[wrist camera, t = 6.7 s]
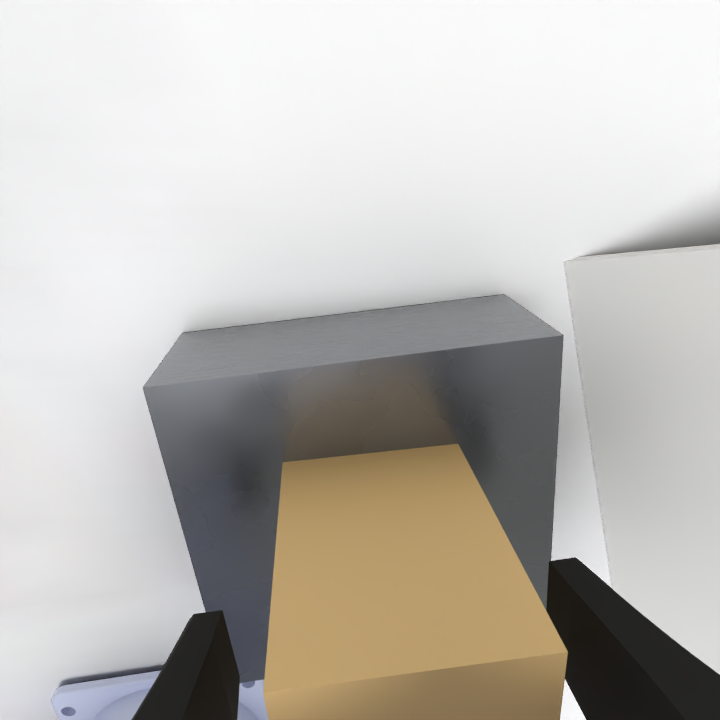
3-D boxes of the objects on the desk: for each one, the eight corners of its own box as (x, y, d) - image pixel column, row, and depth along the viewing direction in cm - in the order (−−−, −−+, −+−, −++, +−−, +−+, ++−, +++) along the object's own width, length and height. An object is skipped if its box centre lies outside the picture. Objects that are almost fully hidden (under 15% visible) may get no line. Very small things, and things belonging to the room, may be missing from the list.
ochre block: (456, 578, 15) (546, 829, 9) (301, 597, 15) (297, 869, 9) (458, 443, 13) (568, 651, 8) (282, 462, 13) (263, 693, 7)
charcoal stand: (501, 546, 20) (546, 635, 16) (242, 583, 19) (226, 685, 16) (504, 294, 16) (563, 335, 12) (182, 332, 16) (142, 387, 12)
